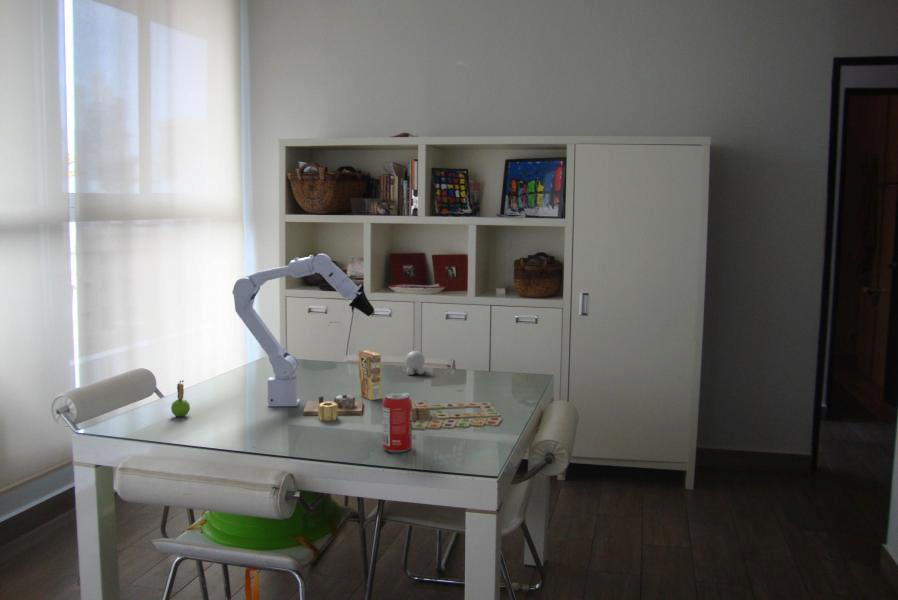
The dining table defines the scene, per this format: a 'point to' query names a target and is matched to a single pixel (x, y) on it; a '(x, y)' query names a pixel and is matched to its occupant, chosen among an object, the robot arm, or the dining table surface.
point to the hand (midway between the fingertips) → (371, 313)
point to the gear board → (344, 402)
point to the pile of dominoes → (453, 416)
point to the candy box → (370, 374)
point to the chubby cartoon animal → (414, 363)
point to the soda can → (397, 422)
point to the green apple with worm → (180, 403)
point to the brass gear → (328, 411)
